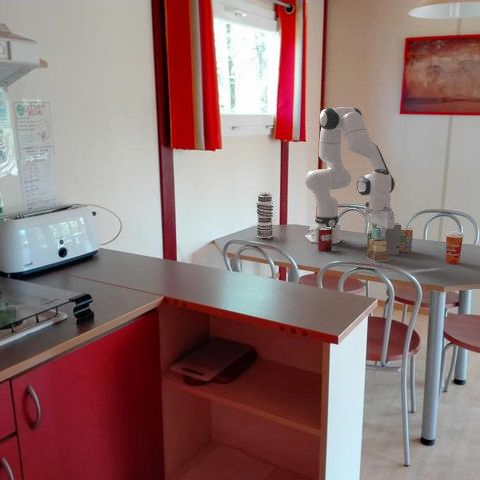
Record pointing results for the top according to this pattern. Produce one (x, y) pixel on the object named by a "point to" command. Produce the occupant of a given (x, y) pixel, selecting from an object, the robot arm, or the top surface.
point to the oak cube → (377, 245)
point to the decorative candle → (264, 215)
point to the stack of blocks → (404, 239)
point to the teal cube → (377, 234)
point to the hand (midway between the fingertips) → (378, 234)
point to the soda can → (325, 239)
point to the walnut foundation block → (377, 255)
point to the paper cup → (453, 246)
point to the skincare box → (393, 239)
